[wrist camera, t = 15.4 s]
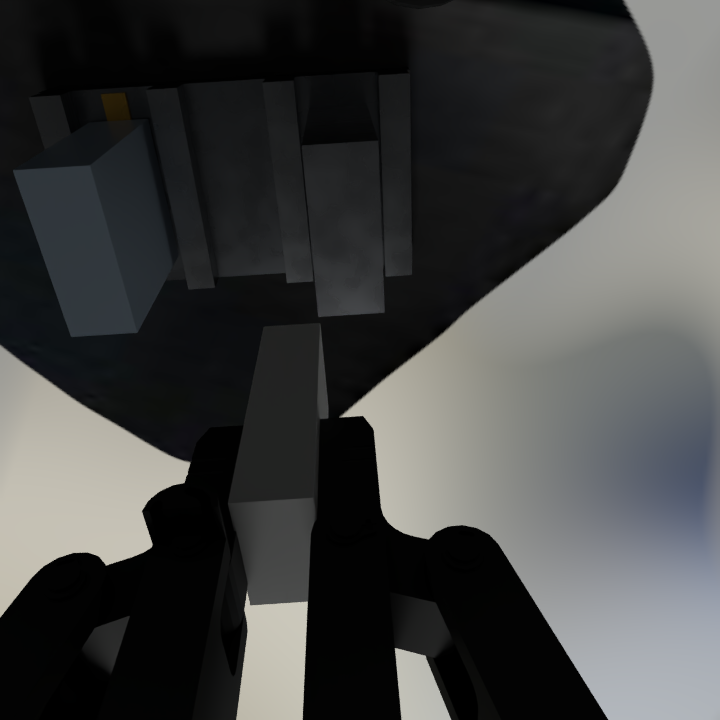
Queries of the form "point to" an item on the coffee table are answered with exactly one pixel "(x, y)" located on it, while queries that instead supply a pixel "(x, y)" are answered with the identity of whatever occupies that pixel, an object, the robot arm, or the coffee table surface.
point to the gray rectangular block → (101, 224)
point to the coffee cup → (419, 3)
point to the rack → (273, 174)
